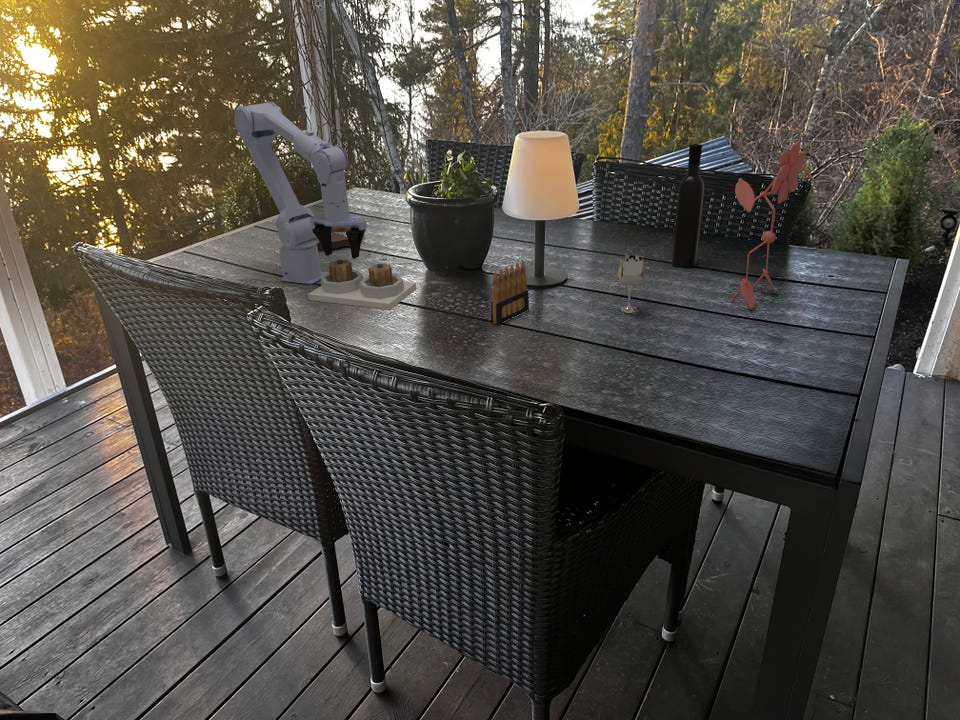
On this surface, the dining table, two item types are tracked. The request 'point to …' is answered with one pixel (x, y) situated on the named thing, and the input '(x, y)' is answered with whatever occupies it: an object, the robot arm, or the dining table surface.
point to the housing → (362, 292)
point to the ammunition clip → (509, 294)
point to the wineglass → (630, 276)
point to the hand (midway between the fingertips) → (342, 256)
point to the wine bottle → (689, 212)
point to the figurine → (783, 183)
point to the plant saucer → (337, 238)
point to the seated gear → (380, 275)
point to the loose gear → (341, 271)
